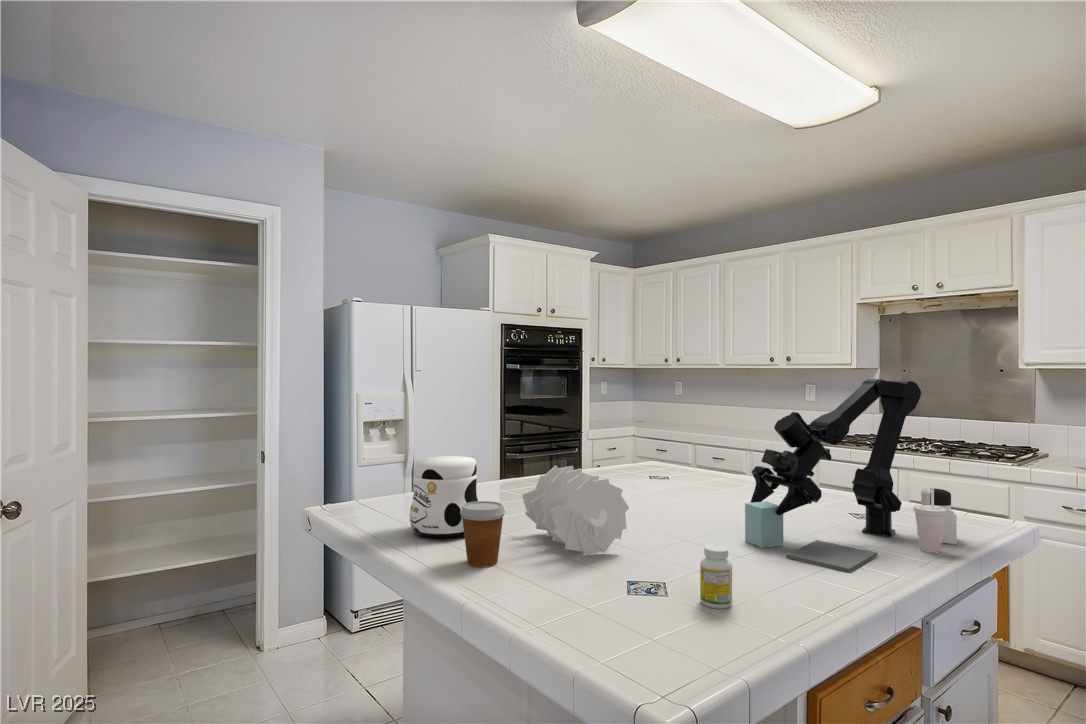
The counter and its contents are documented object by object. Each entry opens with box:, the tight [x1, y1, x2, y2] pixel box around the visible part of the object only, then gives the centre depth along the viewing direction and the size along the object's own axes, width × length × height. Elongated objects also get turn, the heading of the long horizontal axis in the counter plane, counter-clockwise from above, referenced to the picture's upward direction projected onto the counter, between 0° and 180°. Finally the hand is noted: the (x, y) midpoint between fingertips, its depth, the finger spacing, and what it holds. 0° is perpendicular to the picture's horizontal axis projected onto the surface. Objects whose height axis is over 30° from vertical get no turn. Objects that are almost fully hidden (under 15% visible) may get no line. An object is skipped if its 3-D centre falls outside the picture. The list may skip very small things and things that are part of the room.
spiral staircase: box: [521, 465, 630, 557], centre depth 140 cm, size 18×18×25 cm
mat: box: [785, 539, 878, 573], centre depth 131 cm, size 16×13×1 cm
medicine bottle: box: [916, 487, 958, 545], centre depth 145 cm, size 7×7×12 cm
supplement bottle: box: [699, 544, 733, 610], centre depth 104 cm, size 5×5×10 cm
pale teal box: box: [744, 501, 784, 548], centre depth 141 cm, size 6×6×9 cm
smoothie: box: [912, 487, 947, 554], centre depth 135 cm, size 6×6×14 cm
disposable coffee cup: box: [460, 500, 506, 568], centre depth 126 cm, size 10×10×12 cm
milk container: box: [409, 455, 479, 538], centre depth 150 cm, size 17×17×18 cm
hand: (763, 509), depth 141 cm, fingers open, 9 cm apart
